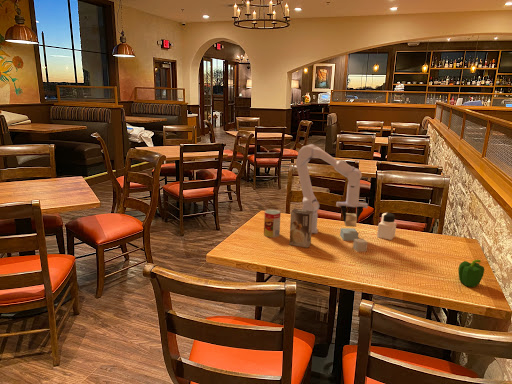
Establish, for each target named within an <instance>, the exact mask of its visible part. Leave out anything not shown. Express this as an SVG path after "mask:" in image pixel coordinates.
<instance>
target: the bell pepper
mask: <svg viewBox="0 0 512 384" xmlns="http://www.w3.org/2000/svg"><path fill="white" fill-rule="evenodd" d="M481 262H482V261H481V259H474V260H472V262H469V261H466V260H464V261H462V262H460V264H459V265H458V270H457V271H458V280H459V282H460V283H461V284H463V285H464V286H465V287H468V288H475V287H477V286H478V285H480V282H481V281H482V279H483V277H484V274H485V267H484V266H482V265H480V264H479V263H481Z"/></svg>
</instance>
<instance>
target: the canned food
mask: <svg viewBox="0 0 512 384" xmlns="http://www.w3.org/2000/svg"><path fill="white" fill-rule="evenodd" d="M263 217H264V218H263V219H264V220H263V221H264V222H263V224H264V225H263V235H264V237H267V238H279V237H280V234H281V233H280V232H281V210H278V209H273V208H272V209H271V208H270V209H266V210H264V215H263Z"/></svg>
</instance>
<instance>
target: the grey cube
mask: <svg viewBox="0 0 512 384" xmlns="http://www.w3.org/2000/svg"><path fill="white" fill-rule="evenodd" d="M352 245H353V246H352V249H354V251H356V252H357V253H359V252H367V250H368V241H367V240H365V239H364V238H358V239H354V241H353V242H352Z"/></svg>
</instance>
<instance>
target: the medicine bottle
mask: <svg viewBox="0 0 512 384" xmlns="http://www.w3.org/2000/svg"><path fill="white" fill-rule="evenodd" d="M395 219H396V215H395V214H393V213H390V212H384V213H382V214H381V221H380V222H379V223H378V225H377V235H376V237H377V238H380V239H384V240H389V241H393V239H394V238H395V236H396V229H397V222H395Z"/></svg>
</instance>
